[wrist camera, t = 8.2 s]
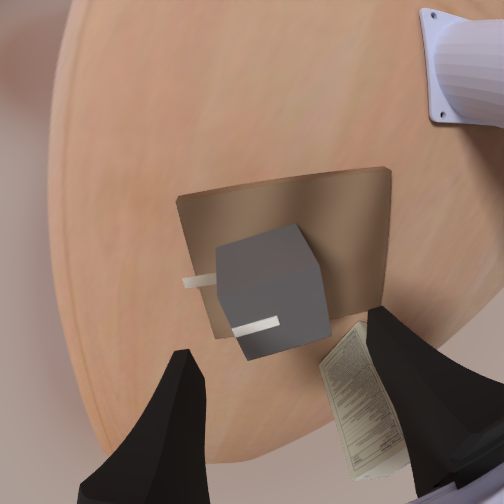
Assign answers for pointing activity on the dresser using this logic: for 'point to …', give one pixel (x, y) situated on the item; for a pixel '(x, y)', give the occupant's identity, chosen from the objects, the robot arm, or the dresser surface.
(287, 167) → the dresser surface
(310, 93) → the dresser surface
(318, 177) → the board
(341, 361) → the skincare box
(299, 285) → the mini file drawer
